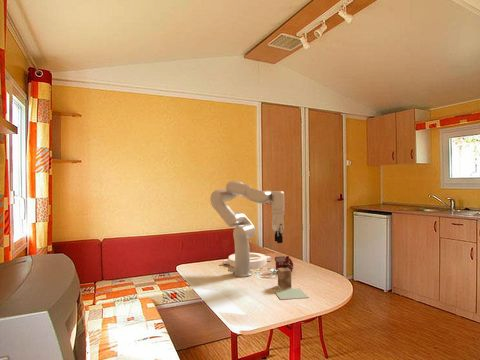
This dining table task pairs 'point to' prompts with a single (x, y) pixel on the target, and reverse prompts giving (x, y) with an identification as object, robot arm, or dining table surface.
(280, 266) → the toy fire truck
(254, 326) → the dining table surface
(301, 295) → the sage mat
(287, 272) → the walnut block
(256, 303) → the dining table surface
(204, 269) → the dining table surface
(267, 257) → the white circle with bar
